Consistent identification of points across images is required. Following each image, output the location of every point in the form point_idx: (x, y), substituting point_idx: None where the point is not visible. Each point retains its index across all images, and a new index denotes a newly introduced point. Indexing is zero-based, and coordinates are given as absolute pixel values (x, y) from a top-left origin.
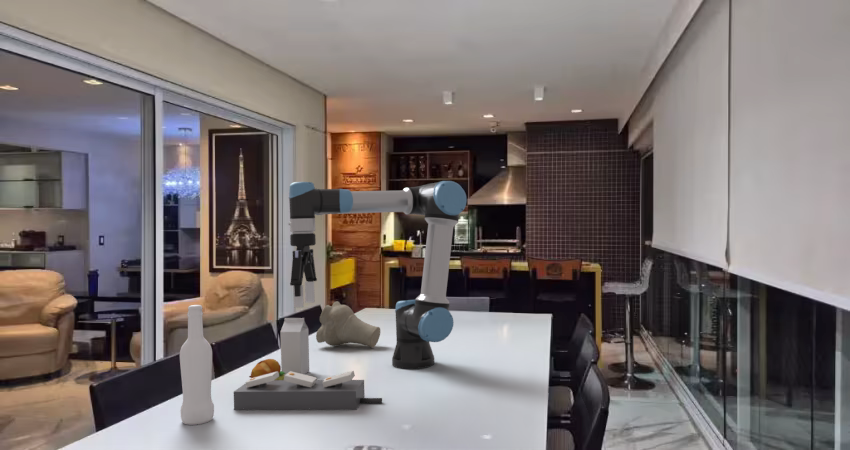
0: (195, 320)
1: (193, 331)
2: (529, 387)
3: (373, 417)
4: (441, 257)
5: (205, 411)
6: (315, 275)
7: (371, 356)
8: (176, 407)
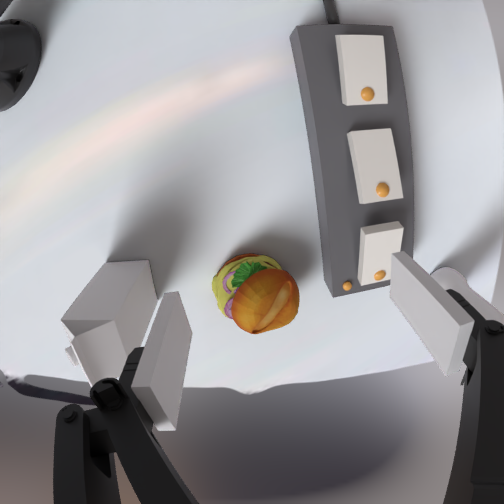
0: None
1: None
2: None
3: (406, 3)
4: None
5: (461, 274)
6: (64, 423)
7: None
8: (378, 352)
